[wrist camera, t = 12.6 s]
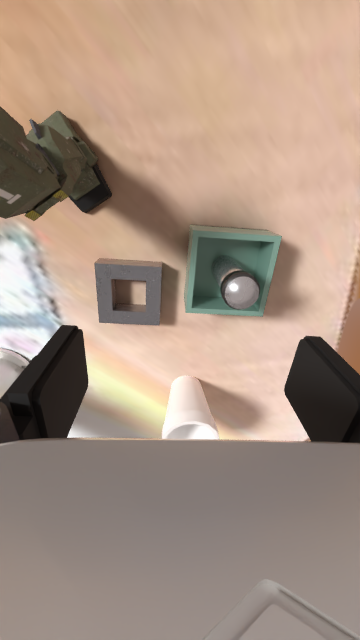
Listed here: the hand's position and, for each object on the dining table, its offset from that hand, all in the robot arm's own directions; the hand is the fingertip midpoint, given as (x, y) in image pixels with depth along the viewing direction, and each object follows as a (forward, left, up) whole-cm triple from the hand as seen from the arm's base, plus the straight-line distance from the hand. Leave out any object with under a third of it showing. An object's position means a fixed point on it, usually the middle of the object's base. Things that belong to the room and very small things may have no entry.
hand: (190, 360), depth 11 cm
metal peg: (-4, -8, -32) cm, 33 cm away
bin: (-4, -8, -32) cm, 34 cm away
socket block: (-9, +7, -32) cm, 34 cm away
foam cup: (-30, -4, -32) cm, 44 cm away
